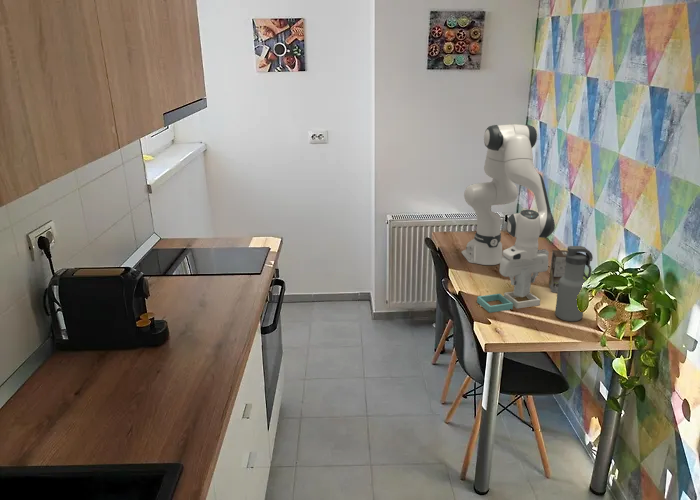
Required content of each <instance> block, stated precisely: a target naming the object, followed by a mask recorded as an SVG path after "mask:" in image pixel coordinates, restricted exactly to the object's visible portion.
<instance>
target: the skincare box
mask: <svg viewBox="0 0 700 500" xmlns="http://www.w3.org/2000/svg"><path fill="white" fill-rule="evenodd" d="M528 272H529V268H525V269H521V275H515V277H514V280H515V281H516V285H513V291H514V295H516V296H519V297H518V298H524V297H525V296H526V295H527V294H529V293H531V284H532V283H531V277H532V275H533V273H530V274H529V273H528Z"/></svg>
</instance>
